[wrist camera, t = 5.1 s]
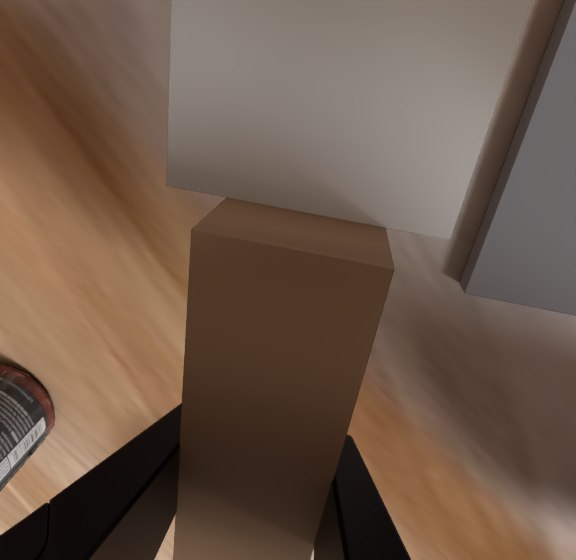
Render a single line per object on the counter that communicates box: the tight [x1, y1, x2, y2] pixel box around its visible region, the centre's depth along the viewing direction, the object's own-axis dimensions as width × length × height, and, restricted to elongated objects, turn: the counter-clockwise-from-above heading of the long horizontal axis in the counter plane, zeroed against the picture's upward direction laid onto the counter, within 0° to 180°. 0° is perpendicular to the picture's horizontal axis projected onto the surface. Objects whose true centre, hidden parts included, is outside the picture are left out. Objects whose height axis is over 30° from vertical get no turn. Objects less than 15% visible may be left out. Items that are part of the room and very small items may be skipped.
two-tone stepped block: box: [167, 0, 532, 560], centre depth 8 cm, size 17×5×3 cm, turn 171°
